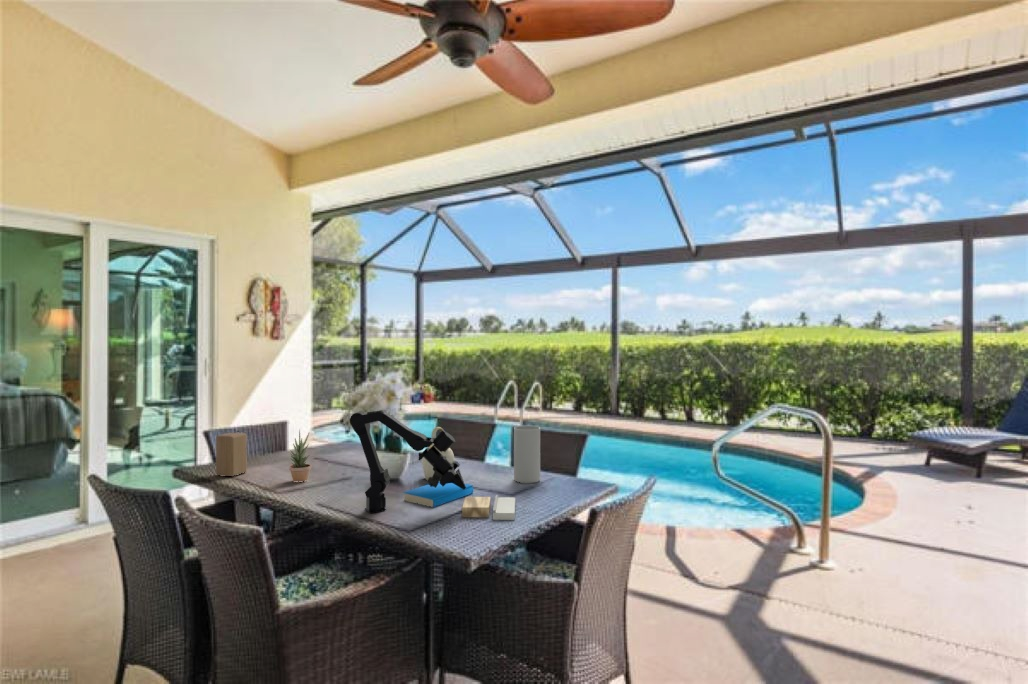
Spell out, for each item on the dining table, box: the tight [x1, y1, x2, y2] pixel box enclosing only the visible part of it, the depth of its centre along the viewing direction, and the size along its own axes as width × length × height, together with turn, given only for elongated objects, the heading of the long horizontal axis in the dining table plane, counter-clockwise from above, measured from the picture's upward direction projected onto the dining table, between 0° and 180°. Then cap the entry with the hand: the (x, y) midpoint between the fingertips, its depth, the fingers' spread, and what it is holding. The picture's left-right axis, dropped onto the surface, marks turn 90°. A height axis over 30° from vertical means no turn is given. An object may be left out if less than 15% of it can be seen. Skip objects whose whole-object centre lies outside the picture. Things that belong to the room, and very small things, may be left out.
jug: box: [421, 426, 455, 481], centre depth 263 cm, size 15×16×25 cm
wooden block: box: [215, 431, 248, 477], centre depth 270 cm, size 10×10×20 cm
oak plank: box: [461, 496, 492, 518], centre depth 214 cm, size 4×14×10 cm
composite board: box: [492, 494, 516, 521], centre depth 214 cm, size 8×20×4 cm, turn 179°
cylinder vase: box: [513, 425, 541, 484], centre depth 261 cm, size 12×12×25 cm
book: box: [403, 481, 474, 508], centre depth 233 cm, size 17×4×25 cm
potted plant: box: [289, 429, 312, 482], centre depth 258 cm, size 10×10×25 cm
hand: (465, 488), depth 214 cm, fingers closed
